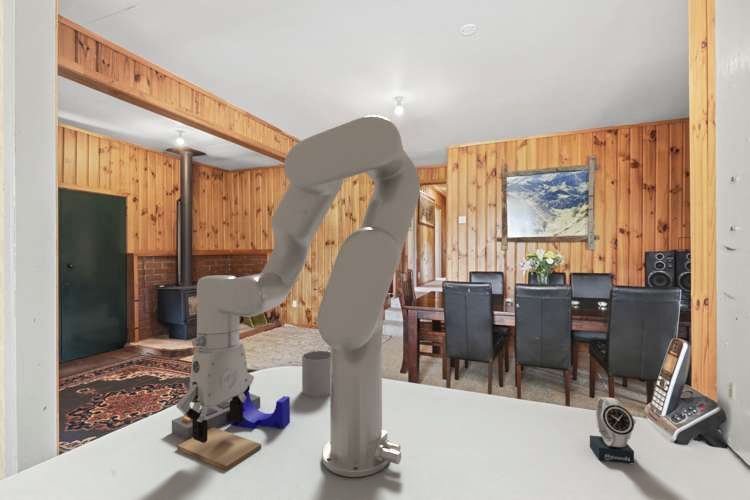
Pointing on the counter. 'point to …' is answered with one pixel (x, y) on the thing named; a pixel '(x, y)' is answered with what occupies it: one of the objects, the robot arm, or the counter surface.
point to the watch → (613, 432)
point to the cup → (316, 373)
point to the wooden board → (220, 448)
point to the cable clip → (265, 415)
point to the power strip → (208, 418)
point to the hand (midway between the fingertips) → (219, 429)
